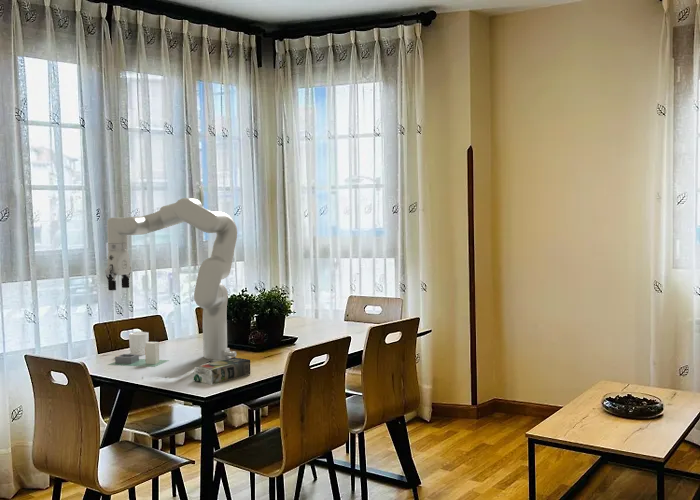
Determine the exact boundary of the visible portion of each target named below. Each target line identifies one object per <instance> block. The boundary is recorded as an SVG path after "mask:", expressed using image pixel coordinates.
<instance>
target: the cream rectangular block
mask: <svg viewBox="0 0 700 500" xmlns="http://www.w3.org/2000/svg"><path fill="white" fill-rule="evenodd" d="M145 359H146V364H157V363H159V360H160V342H159V341H148V343H146V347H145Z"/></svg>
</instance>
